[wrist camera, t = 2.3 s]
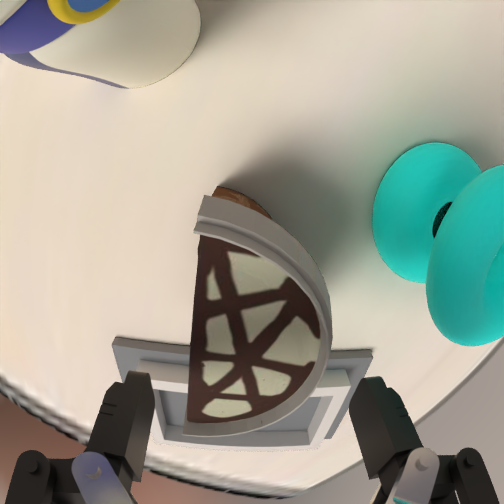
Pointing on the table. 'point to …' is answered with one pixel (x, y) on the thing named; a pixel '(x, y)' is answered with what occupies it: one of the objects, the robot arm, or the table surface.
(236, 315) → the food container
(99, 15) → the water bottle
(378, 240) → the donuts
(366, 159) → the table surface
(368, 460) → the robot arm
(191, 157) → the table surface
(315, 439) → the tray
